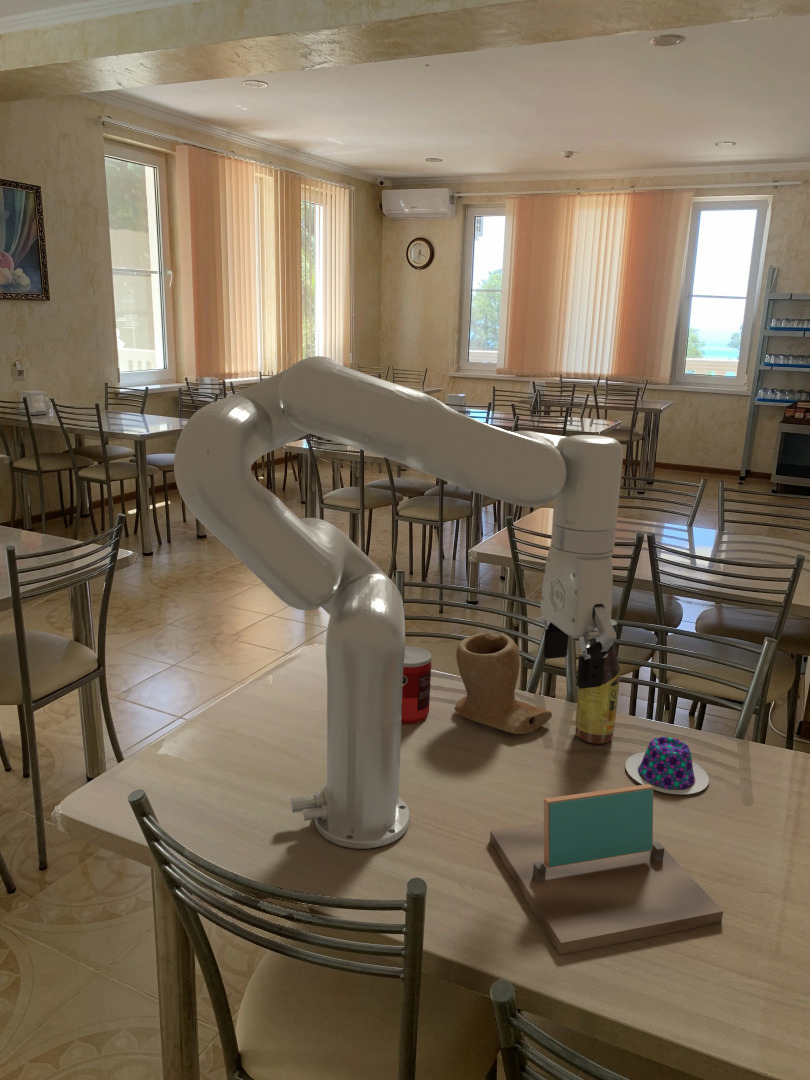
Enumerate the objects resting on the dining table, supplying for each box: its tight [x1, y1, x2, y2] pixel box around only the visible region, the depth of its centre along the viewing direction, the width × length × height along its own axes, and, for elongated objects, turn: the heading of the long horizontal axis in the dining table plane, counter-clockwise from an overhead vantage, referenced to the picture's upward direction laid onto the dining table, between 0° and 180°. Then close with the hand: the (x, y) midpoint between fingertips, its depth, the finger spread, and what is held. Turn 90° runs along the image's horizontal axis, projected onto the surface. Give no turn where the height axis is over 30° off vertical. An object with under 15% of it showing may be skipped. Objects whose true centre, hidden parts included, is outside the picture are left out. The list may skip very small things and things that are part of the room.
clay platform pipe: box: [454, 632, 553, 735], centre depth 133 cm, size 15×12×15 cm
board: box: [489, 822, 724, 955], centre depth 96 cm, size 20×20×3 cm
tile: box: [543, 783, 654, 868], centre depth 96 cm, size 8×14×1 cm
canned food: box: [401, 645, 432, 725], centre depth 135 cm, size 8×8×11 cm
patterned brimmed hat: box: [625, 736, 710, 795], centre depth 120 cm, size 12×12×5 cm
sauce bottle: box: [574, 618, 621, 745], centre depth 129 cm, size 6×6×20 cm
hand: (571, 670), depth 101 cm, fingers open, 8 cm apart
